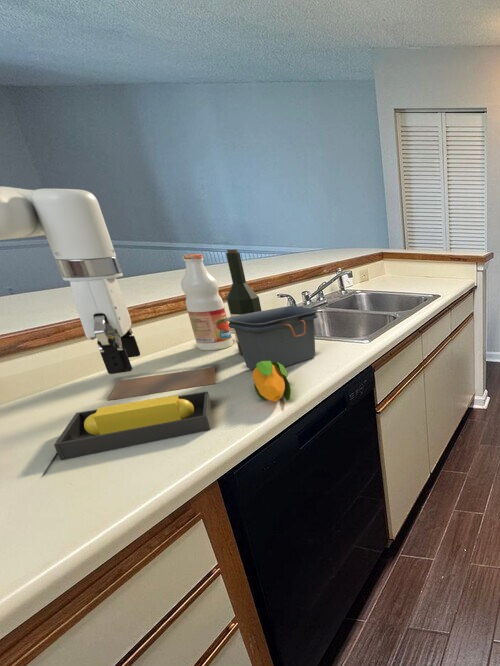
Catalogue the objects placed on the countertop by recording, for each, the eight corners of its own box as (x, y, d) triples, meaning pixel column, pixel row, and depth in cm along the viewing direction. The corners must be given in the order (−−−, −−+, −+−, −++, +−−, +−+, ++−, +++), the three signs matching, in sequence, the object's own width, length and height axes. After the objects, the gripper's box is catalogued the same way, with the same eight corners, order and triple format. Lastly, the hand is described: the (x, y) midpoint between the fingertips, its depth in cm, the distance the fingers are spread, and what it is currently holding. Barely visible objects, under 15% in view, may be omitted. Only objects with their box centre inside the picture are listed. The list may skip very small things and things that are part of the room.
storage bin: (297, 349, 132) (288, 304, 127) (335, 356, 127) (328, 309, 121) (232, 370, 114) (219, 318, 108) (273, 380, 108) (262, 325, 103)
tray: (61, 463, 72) (53, 444, 70) (83, 429, 83) (76, 412, 81) (211, 432, 83) (206, 416, 81) (212, 405, 94) (208, 391, 92)
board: (108, 401, 94) (107, 400, 94) (119, 381, 105) (119, 380, 105) (214, 384, 105) (214, 383, 104) (215, 368, 115) (215, 366, 115)
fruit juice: (198, 344, 135) (173, 253, 124) (233, 340, 139) (212, 252, 129) (197, 352, 127) (170, 256, 117) (233, 348, 132) (210, 255, 121)
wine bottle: (242, 348, 131) (219, 248, 120) (272, 347, 134) (252, 248, 122) (235, 357, 124) (209, 251, 113) (267, 355, 126) (245, 250, 115)
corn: (279, 351, 105) (291, 375, 90) (287, 379, 109) (300, 407, 93) (245, 358, 102) (252, 384, 86) (254, 386, 105) (263, 417, 90)
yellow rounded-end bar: (86, 443, 77) (76, 419, 75) (92, 433, 80) (82, 410, 78) (196, 422, 85) (189, 400, 83) (197, 414, 88) (190, 392, 86)
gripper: (74, 264, 76) (108, 354, 82) (43, 277, 62) (86, 383, 69) (128, 262, 80) (156, 348, 86) (109, 273, 66) (145, 375, 73)
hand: (125, 364), depth 78 cm, fingers open, 9 cm apart
